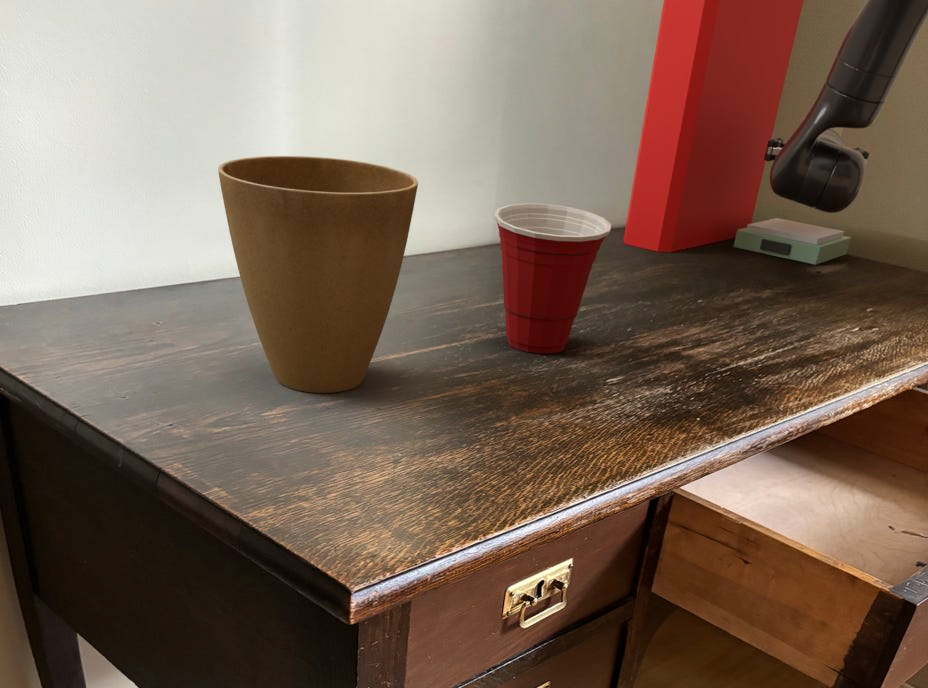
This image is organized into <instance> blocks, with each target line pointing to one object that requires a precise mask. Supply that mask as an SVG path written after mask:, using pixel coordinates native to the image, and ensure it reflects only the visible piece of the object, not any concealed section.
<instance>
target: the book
mask: <svg viewBox="0 0 928 688" xmlns="http://www.w3.org/2000/svg"><path fill="white" fill-rule="evenodd" d="M804 1H805V0H663V1H662V2H663V3H662V9H661V15H660V21H659V25H658V32H657V39H656V45H655V49H654V55H653V62H652V68H651V74H650V79H649V86H648V92H647V98H646V104H645V108H644V109H645V110H644V115H643V122H642V126H641V127H642V128H641V134H640V140H639V145H638V151H637V157H636V162H635V167H634V168H635V170H634V175H633V181H632V187H631V192H630V197H629V198H630V199H629V200H630V201H629V204H628V210H627V216H626V223H625V229H624V234H623V241H622V242H623V244H624V245H628V246H632V247H636V248H640V249H645V250H648V251H649V250H650V251H653V252H658V253H674V251H675V252H678V250H679V251H683V250H687V248H688V249H691V248H696V247H701V246H705V245H710V244H714V243H718V242H722V241H723V242H724V241H727V240H730V239H735V238H736V233H737V230H739V229H743V228H747V225H748V224H752V223H753V217H754V215H755V209H756V206H757V205H756V204H757V200H758V196H759V192H760V187H761V183H762V179H763V175H764V171H765V166H766V162H767V161H766V160H764V157H765V153H766V149H767V145H768V141H769V140H772V137H773V132H774V128H775V124H776V120H777V115H778V111H779V106H780V102H781V99H782V95H783V90H784V85H785V80H786V78H787V73H788V68H789V65H790V60H791V56H792V52H793V48H794V43H795V39H796V34H797V30H798V26H799V23H800V17H801V14H802V9H803V5H804Z"/></svg>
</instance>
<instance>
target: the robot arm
mask: <svg viewBox="0 0 928 688" xmlns="http://www.w3.org/2000/svg"><path fill="white" fill-rule="evenodd" d="M927 19H928V0H866V2H865V3H864V4H863V6H862V7H861V9H860V10H859V12H858V14H857V15H856V17H855V18H854V20H853V22H852V23H851V25H850V27H849V29H848V31H847V32H846V34H845V36H844V38H843V41H842V43H841V45H840V47H839V50H838V51H837V54H836V55H835V58H834V61H833V63H832V65H831V68H830V69H829V72H828V74H827V76H826V79H825V81H824V84H823V86H822V88H821V90H820V92H819V93H818V95H817V98H816V99H815V102H814V103H813V105H812V107H811V108H810V110H809V111H808V113H807V114H806V116H805V117H804V118H805V119H804V120H803V119H802V121H801V123H800V124H799V126H798V127H797V128H796V130H795V131H794V132H793V133H792V134H791V136H790V137H789V139H787V141H786V142H785V143H784V139H782V137H777V138H771V140H769V141H768V145H767V149H766V153H765V157H764V160H766V162H772V165H771V167H770V171H769V185H770V188H771V190H772V192H773V193H774V194H775V195H777V196H778V197H780V198H783V199H786V200H789V201H791V202H795V203H798V204H800V205H804V206H806V207H808V208H811V209H815V210H816V211H817V210H818V211H821V212H823V213H829V214H836V213H839V212H842V211H843V210H845V209H847V208H848V207H849V206H850V205H851V204H852V203H853V202H854V201H855V200H856V198H857V197H858V195H859V194H860V192H861V190H862V187H863V185H864V182H865V179H866V171H867V170H866V169H867V168H866V167H867V163H868V159H869V157H870V152H868V151H866V150H864V149H861V148H860V147H855V148H850V147H849V146H847V145H846V144H845V142H844V140H843V138H842V136H841V137H840V135H839V134H838V133H836V132H835V131H833V130H831V128H843V129H858V130H859V129H866V128H868V127H871V126H872V125H873V124H874V123H875V122H876V120H877V119H878V117H879V116H880V114H881V111H882V110H883V108H884V105H885V103H886V101H887V99H888V97H889V95H890V93H891V91H892V89H893V87H894V84H895V82H896V81H897V78H898V77H899V74H900V72H901V70H902V69H903V67H904V64H905V61H906V60H907V58H908V55H909V53H910V52H911V49H912V47H913V46H914V43H915V42H916V40H917V37H918V36H919V34H920V32H921V30H922V28H923V26H924V24H925V23H926V20H927Z"/></svg>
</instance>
